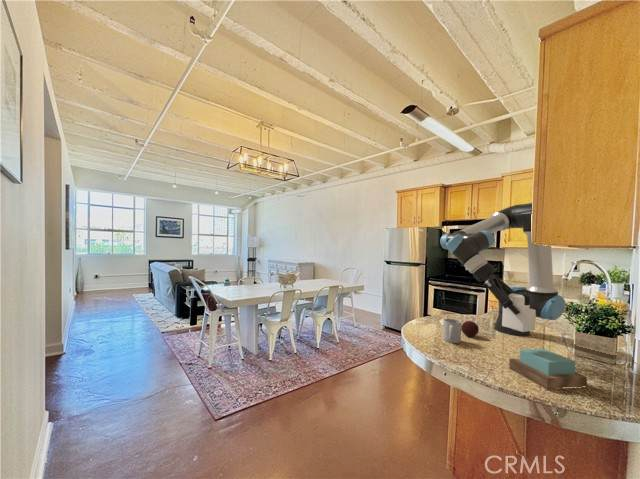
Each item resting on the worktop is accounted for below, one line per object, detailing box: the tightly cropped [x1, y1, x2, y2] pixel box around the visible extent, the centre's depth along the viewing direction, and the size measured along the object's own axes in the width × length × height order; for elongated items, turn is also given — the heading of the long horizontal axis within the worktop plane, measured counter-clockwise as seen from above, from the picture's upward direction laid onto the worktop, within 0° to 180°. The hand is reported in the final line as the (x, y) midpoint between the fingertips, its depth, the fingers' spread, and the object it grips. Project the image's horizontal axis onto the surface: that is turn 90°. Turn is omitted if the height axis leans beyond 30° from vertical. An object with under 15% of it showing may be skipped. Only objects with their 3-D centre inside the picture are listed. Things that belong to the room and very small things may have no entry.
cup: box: [442, 318, 462, 344], centre depth 122 cm, size 7×10×9 cm
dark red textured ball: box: [461, 320, 480, 337], centre depth 131 cm, size 7×8×7 cm
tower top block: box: [519, 348, 576, 375], centre depth 91 cm, size 10×10×4 cm
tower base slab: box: [508, 358, 588, 391], centre depth 91 cm, size 14×14×4 cm
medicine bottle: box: [502, 293, 536, 332], centre depth 96 cm, size 7×7×12 cm
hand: (529, 319), depth 94 cm, fingers closed on medicine bottle, 9 cm apart
